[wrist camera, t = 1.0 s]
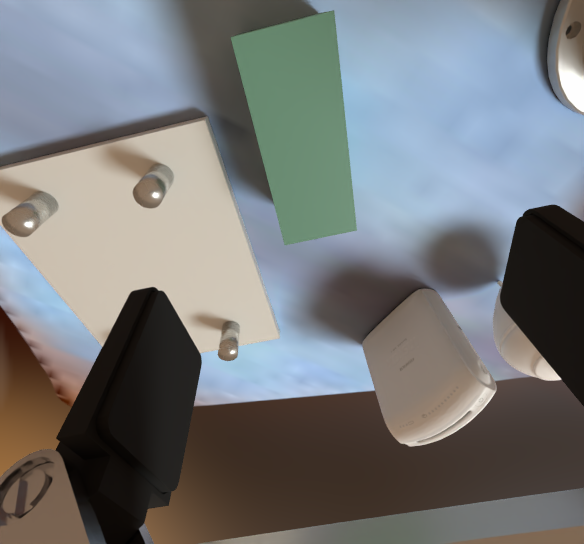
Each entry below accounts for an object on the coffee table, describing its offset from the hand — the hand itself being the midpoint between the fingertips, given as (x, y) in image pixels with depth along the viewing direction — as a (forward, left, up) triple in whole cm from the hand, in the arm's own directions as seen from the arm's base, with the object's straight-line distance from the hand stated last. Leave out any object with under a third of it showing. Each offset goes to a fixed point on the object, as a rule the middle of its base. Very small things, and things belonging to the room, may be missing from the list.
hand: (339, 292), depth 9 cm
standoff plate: (+15, +9, -19) cm, 25 cm away
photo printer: (-7, +22, -19) cm, 30 cm away
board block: (0, 0, -19) cm, 19 cm away
